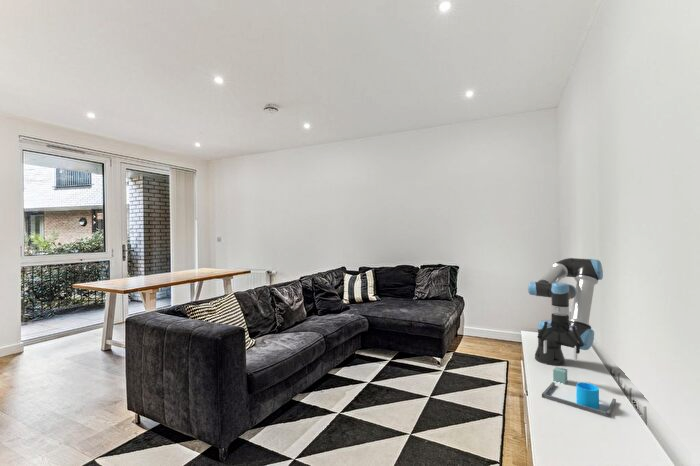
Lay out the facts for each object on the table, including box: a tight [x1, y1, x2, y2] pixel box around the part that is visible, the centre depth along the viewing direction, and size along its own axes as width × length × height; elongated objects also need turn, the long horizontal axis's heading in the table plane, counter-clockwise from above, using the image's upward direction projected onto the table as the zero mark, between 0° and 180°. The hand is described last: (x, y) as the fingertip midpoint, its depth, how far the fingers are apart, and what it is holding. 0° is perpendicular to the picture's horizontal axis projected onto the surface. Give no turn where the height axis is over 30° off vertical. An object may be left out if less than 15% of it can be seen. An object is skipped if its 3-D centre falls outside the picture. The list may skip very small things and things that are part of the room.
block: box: [552, 366, 568, 385], centre depth 176 cm, size 5×5×6 cm
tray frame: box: [541, 381, 617, 418], centre depth 157 cm, size 17×25×2 cm
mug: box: [576, 382, 600, 410], centre depth 154 cm, size 12×8×8 cm
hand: (560, 356), depth 176 cm, fingers open, 13 cm apart
